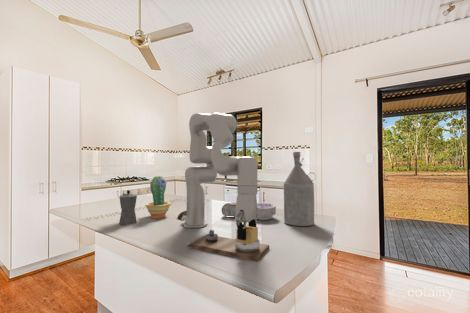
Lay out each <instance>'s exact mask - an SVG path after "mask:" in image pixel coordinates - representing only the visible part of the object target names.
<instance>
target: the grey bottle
mask: <svg viewBox="0 0 470 313" xmlns="http://www.w3.org/2000/svg"><path fill="white" fill-rule="evenodd" d="M292 156H293V164H294V166H293V168H292V170H290V173H289V175H288V176H287V178H286V179H285V181H284V182H283V217H284V218H283V220H284V221H283V222H284V224H286V225H290V226H295V227H296V226H297V227H310V226H313V225H315V189H314V187H315V186H314V185H315V184H314V180H317V179H316V177H317V175H316V174H315V172H309V173H308V174H307V173H306V172H305V171H304V169H303V168H302V166H303V164H302V162H303V160H304V157H302V159H300V158H301V152H300V151H293V152H292ZM310 174H313V175H314V176H315V177H314V179H313V180H312V179H311V177H310V176H309V175H310Z"/></svg>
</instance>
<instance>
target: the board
mask: <svg viewBox="0 0 470 313" xmlns="http://www.w3.org/2000/svg"><path fill="white" fill-rule="evenodd" d="M236 239H237V238H231V237H230V238H229V237H225V236H218V241H216V242H207V241H206V234H205V235H202V236H201V237H199V238H197V239H195V240H192V241H191V242H189V243H188V248H191V249H195V250H199V251H204V252H208V253H209V252H210V253H212V254H213V253H215V254H220V255H223V256H227V257H231V258H232V257H233V258H238V259H243V260H247V261H253V262H255V263H256V262H258V261H260V260H261V258H262V257H264V255H265V254H266V253H267V252H268V251H269V250H270V244H267V243H266V244H265V243H260V242H259V251H258V252H256V253H250V254H246V253H240V252H238V251H236V250H235V240H236Z"/></svg>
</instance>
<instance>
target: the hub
mask: <svg viewBox="0 0 470 313" xmlns="http://www.w3.org/2000/svg"><path fill="white" fill-rule="evenodd" d="M235 239H236V240H235V250H236V251H238V252H240V253H246V254H250V253H256V252H258V251H259V243H260V240H259V238H258V240H256V241H255V242H254V243H253V244H246V243H241V242H237V238H235Z"/></svg>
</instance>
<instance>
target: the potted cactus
mask: <svg viewBox="0 0 470 313" xmlns="http://www.w3.org/2000/svg"><path fill="white" fill-rule="evenodd" d="M167 183H168V182H167V180H166V179H164V177H163V176H161V175H159V176H158V175H156V176H154V177H153V178H152V179H151V181H150V184H149V185H150V187H149V188H150V191H151V192H150V193H151V195H152V202H151V201H150V202H147V203H145V205H144V206H145V208H146V209H147V212H148V213H149V214H150V218H152V219H161V218H165V217H166V216H167V215H166V214H167V212H168V211H169V208H170V206H171V205H172V203H171V201H165V192H166V189H167Z"/></svg>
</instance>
